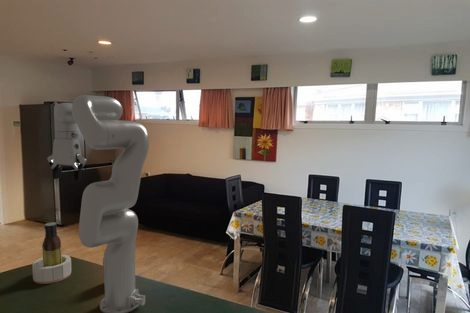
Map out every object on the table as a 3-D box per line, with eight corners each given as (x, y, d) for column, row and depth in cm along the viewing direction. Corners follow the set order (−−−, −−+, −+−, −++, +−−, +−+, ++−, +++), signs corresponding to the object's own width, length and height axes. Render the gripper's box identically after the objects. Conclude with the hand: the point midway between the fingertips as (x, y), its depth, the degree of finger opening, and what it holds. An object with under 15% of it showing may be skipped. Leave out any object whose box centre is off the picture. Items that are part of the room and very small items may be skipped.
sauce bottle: (51, 269, 127) (49, 220, 125) (66, 270, 126) (64, 221, 124) (39, 277, 120) (37, 225, 118) (54, 278, 120) (52, 226, 118)
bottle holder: (78, 270, 128) (78, 256, 127) (53, 286, 116) (52, 270, 115) (51, 266, 131) (51, 252, 131) (24, 281, 119) (23, 266, 118)
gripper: (91, 136, 127) (92, 179, 129) (54, 135, 131) (56, 176, 133) (78, 137, 120) (79, 182, 121) (39, 135, 124) (41, 179, 126)
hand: (67, 179), depth 127 cm, fingers open, 9 cm apart
